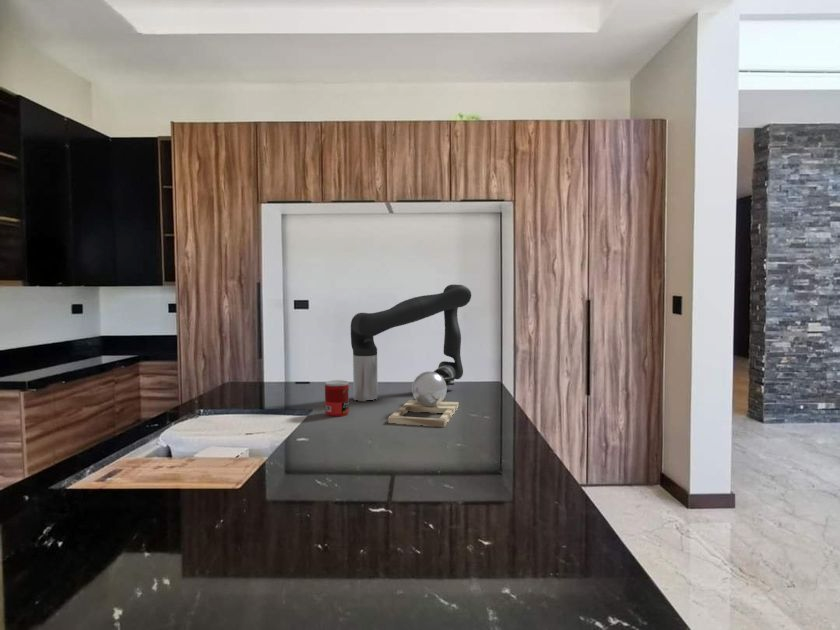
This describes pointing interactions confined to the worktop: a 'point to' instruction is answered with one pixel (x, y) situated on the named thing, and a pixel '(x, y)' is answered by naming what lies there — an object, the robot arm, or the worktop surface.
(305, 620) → the worktop surface
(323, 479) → the worktop surface
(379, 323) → the robot arm
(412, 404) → the hole board
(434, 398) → the ball
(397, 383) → the worktop surface
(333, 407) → the canned food
